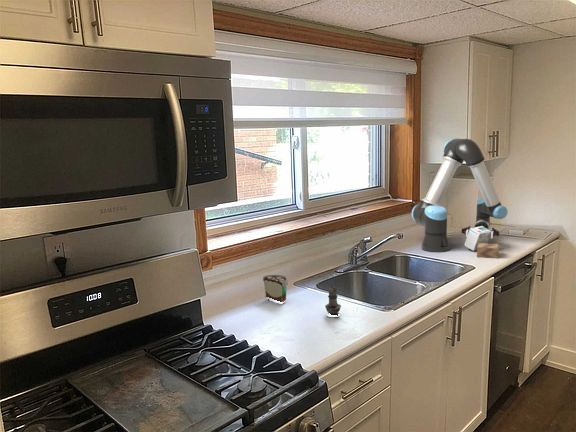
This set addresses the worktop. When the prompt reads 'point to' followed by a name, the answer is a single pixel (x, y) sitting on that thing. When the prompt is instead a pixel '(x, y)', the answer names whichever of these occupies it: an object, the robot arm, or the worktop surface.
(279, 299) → the food container
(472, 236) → the light bulb box
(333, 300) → the dark grey tall piece
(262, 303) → the worktop surface
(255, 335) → the worktop surface
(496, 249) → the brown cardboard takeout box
